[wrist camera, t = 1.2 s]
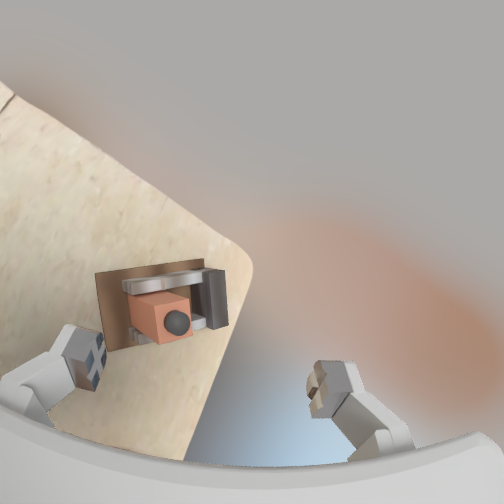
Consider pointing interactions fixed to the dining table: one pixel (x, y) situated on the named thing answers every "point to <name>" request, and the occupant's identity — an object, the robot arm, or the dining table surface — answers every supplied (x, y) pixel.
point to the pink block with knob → (161, 315)
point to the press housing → (153, 279)
